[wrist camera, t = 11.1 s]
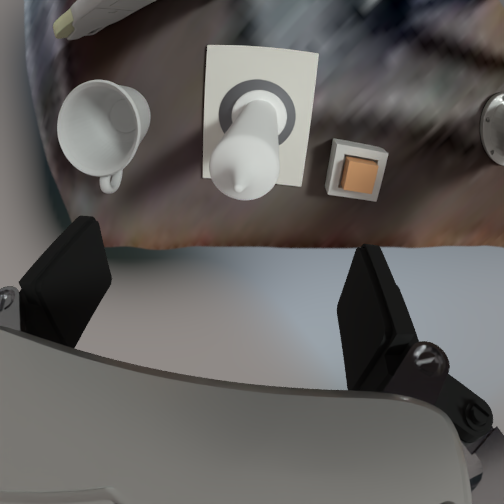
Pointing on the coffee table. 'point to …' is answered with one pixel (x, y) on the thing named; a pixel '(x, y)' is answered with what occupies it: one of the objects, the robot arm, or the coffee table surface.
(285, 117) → the candle
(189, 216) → the coffee table surface
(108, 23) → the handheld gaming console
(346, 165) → the button
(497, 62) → the coffee table surface
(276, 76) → the paper sheet
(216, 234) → the coffee table surface
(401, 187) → the coffee table surface
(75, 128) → the teacup
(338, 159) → the button housing
